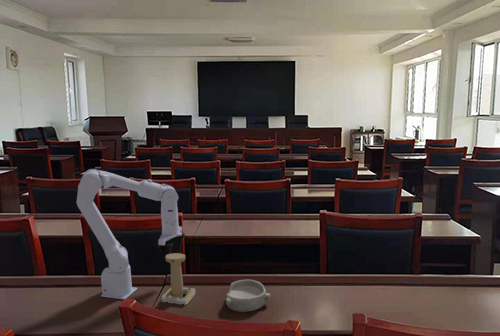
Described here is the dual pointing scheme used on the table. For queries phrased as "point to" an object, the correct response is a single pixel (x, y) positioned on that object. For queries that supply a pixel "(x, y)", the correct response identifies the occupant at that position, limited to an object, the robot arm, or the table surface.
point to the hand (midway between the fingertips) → (172, 257)
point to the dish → (246, 295)
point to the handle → (176, 273)
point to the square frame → (179, 300)
